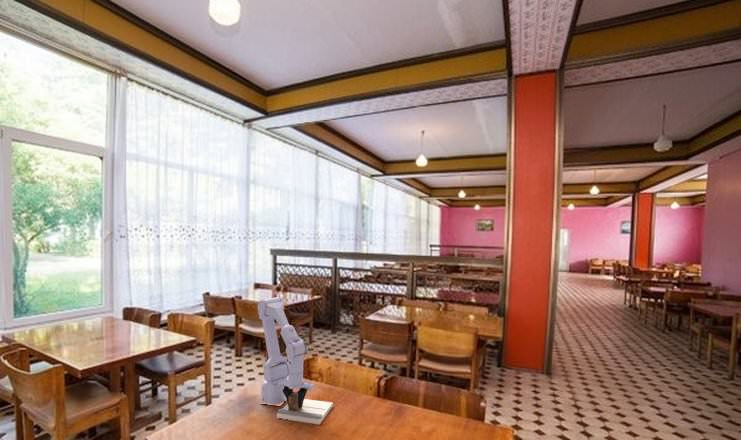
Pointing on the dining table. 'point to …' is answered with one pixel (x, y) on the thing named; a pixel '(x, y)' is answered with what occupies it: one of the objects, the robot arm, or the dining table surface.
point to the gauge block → (294, 402)
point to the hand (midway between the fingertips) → (295, 406)
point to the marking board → (307, 412)
